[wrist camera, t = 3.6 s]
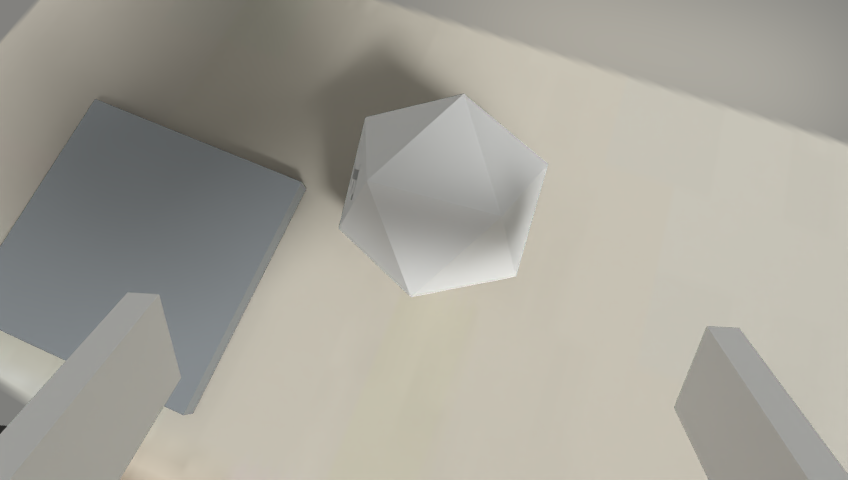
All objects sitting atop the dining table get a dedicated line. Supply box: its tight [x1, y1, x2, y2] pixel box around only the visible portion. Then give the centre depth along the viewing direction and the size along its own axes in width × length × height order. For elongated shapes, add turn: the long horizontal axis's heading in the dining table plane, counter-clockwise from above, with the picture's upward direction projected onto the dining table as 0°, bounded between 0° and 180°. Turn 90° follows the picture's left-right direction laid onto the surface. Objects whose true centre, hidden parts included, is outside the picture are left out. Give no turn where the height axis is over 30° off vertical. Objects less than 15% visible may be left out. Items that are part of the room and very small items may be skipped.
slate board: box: [0, 99, 306, 415], centre depth 26 cm, size 12×12×1 cm
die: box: [339, 94, 548, 297], centre depth 23 cm, size 8×9×10 cm
